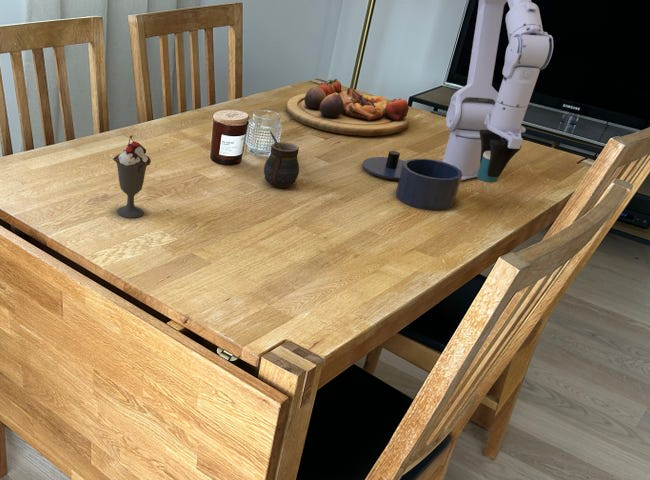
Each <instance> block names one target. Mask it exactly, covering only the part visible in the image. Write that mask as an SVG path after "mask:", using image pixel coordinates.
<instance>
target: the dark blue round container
mask: <svg viewBox="0 0 650 480" xmlns="http://www.w3.org/2000/svg"><path fill="white" fill-rule="evenodd" d="M404 161H405V162H404V163H403V166H402V170H401V174H400V178H399V180H398V182H397V186H396V189H395V196H396V198H397V200H399V201H400V202H402V203H403V204H405V205H408V206H409V207H413V208H417V209H420V210H426V211H445V210H448V209H450V208H452V207H453V205H454V203H455V200H456V197H457V194H458V190H459V188H460V184H461V182H462V181H461V178H462V172H461V170H459V169H458V168H457V167H455V166H453V165H451V164H448V163H445V162H442V161H443V160H437V159H431V158H411V159H406V160H404Z"/></svg>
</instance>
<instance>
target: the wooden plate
mask: <svg viewBox="0 0 650 480" xmlns="http://www.w3.org/2000/svg"><path fill="white" fill-rule="evenodd" d="M409 109H410V106H409V104H408V101H407V100H406V99H403V98H398V99H397V98H394V99H392V100H390V101H389V100H388V99H387V98H386V97H383V96H382V95H372V96H371V95H367V94H364V93H361V92H357V91H356V90H355V89H354V88H353V87H348V88H347V90H343V91H342V83H341V82H340V81H339V80H338V78H334V79H328V82H324V83H323V82H321V83H320V84H319V85H316V86H312V87H311V88H310V89H308V90H307V92H306V93H301V94H300V93H299V94H297V95H295V96H292V97H291V98H289V99H288V100H287V102H286V104H285V110H286V113H287V115H289V116H290V117H291V118H292V119H293V120H295V121H297V122H299V123H300V124H303V125H305V126H308V127H310V128H314V129H317V130H320V131H324V132H325V131H326V132H330V133H335V134H341V135H350V136H365V137H367V136H368V137H369V136H371V137H372V136H373V137H374V136H387V135H392V134H397V133H399V132H402V131H403V130H405V129H406V128H407V127H408V126H409V124H410V116H409V114H408V113H409Z"/></svg>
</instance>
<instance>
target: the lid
mask: <svg viewBox="0 0 650 480" xmlns="http://www.w3.org/2000/svg"><path fill="white" fill-rule="evenodd" d="M400 156H401V152H399V151H397V150H390V151H388V153H387V156H374V157H368V158H366V159H364V160H363V161H362V164H361V166H362V168H363V170H365V171H367V173H369V174H371V175H374V176H377V177H378V178H379V177H380V178H383V179H389V180H394V181H395V180H396V181H397V180H398V181H399V178H400V174H401V170H402V166H403V163H404V162H405V161H406V160H403V159H400Z"/></svg>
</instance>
